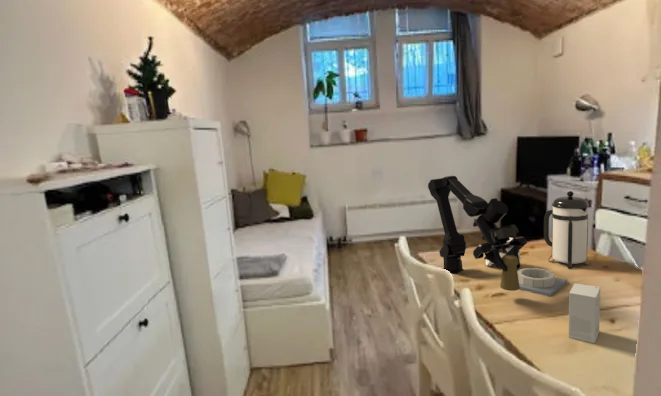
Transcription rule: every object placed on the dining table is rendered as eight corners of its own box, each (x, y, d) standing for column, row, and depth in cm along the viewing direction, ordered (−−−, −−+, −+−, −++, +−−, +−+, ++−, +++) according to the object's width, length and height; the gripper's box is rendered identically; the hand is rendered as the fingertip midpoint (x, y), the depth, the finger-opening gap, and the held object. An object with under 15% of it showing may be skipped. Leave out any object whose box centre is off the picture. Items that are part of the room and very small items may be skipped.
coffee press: (590, 258, 167) (592, 188, 163) (590, 271, 154) (592, 194, 150) (543, 254, 177) (544, 187, 172) (540, 266, 164) (540, 193, 159)
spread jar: (523, 268, 162) (523, 241, 160) (498, 273, 160) (498, 244, 158) (503, 260, 174) (503, 234, 172) (480, 264, 171) (480, 237, 169)
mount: (503, 285, 147) (503, 275, 146) (522, 273, 157) (522, 263, 157) (550, 296, 135) (550, 285, 134) (567, 282, 145) (567, 272, 145)
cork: (521, 290, 131) (522, 258, 129) (502, 290, 132) (502, 258, 131) (517, 283, 137) (517, 252, 135) (498, 283, 138) (498, 253, 137)
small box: (573, 325, 115) (574, 282, 113) (599, 331, 111) (601, 286, 109) (567, 337, 109) (568, 292, 107) (595, 344, 105) (596, 297, 103)
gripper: (478, 221, 132) (502, 262, 123) (523, 213, 137) (549, 253, 129) (463, 238, 140) (485, 278, 132) (506, 231, 146) (530, 269, 138)
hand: (512, 269), depth 132 cm, fingers closed on cork, 5 cm apart
